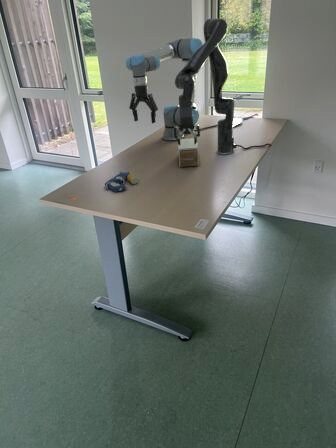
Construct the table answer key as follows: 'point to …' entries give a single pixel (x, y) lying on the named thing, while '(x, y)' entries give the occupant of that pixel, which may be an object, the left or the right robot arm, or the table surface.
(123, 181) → the spray gun
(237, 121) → the spoon
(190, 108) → the right robot arm
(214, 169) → the table surface
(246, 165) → the table surface
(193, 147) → the cabinet
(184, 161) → the drawer
